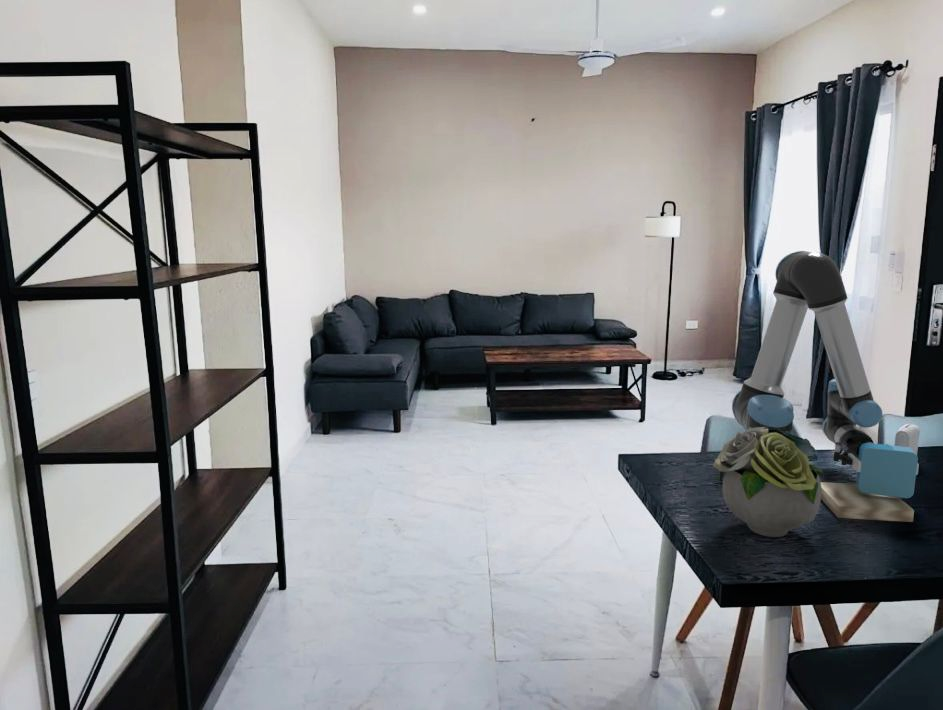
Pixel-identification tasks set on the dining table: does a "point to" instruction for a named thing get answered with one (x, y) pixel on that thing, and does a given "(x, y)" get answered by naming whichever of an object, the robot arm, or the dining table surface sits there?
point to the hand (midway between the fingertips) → (887, 468)
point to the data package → (887, 470)
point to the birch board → (863, 503)
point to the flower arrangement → (770, 480)
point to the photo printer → (908, 437)
